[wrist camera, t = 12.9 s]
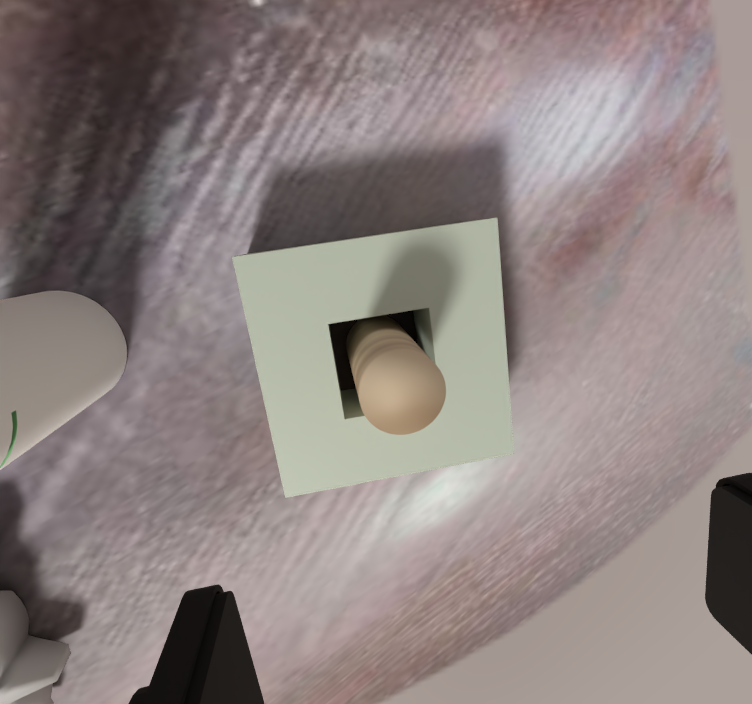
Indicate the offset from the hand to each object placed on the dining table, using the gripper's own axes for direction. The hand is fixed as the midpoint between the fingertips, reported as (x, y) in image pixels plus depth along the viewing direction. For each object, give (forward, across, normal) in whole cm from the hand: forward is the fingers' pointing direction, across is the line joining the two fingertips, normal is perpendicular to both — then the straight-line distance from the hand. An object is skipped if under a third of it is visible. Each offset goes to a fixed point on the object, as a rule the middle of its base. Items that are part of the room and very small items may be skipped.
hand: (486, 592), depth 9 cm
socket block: (+22, 0, +1) cm, 22 cm away
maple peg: (+22, 0, +1) cm, 22 cm away
